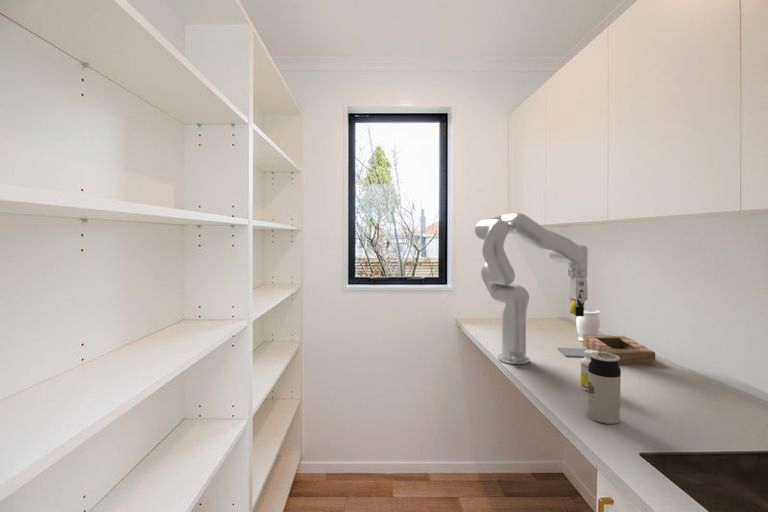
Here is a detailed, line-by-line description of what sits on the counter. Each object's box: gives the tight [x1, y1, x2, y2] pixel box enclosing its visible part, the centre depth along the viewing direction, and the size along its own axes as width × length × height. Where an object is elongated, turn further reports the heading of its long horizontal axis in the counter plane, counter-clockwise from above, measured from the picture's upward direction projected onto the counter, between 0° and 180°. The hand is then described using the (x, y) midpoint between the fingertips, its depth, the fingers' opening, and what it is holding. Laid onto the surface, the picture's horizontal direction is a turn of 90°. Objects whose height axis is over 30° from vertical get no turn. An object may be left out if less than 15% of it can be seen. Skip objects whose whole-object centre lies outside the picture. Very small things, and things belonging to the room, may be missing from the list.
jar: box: [575, 308, 601, 342], centre depth 193 cm, size 11×10×15 cm
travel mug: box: [586, 352, 622, 425], centre depth 110 cm, size 8×8×18 cm
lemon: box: [569, 299, 580, 318], centre depth 171 cm, size 6×6×8 cm
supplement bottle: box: [580, 349, 599, 392], centre depth 132 cm, size 7×7×13 cm
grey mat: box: [557, 347, 588, 358], centre depth 172 cm, size 12×12×1 cm
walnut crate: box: [582, 334, 656, 366], centre depth 170 cm, size 26×18×5 cm
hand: (576, 314), depth 171 cm, fingers closed on lemon, 5 cm apart
